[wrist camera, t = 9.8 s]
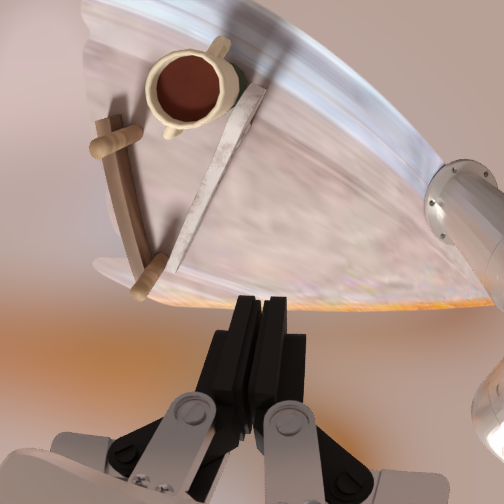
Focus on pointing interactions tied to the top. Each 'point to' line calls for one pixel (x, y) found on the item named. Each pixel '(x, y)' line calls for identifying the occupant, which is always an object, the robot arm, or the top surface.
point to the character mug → (193, 87)
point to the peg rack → (127, 201)
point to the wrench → (217, 169)
